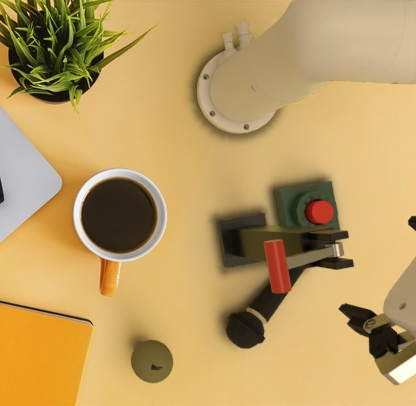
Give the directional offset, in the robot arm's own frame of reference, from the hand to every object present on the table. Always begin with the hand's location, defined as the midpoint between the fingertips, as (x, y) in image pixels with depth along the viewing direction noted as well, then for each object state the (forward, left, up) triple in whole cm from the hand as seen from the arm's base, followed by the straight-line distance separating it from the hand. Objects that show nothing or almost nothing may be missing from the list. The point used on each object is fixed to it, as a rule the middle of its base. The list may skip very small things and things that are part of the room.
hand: (386, 273), depth 47 cm
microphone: (+8, +5, -35) cm, 36 cm away
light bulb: (+12, -16, -35) cm, 40 cm away
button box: (-4, +12, -35) cm, 37 cm away
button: (-4, +12, -31) cm, 33 cm away
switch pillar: (-1, +2, -35) cm, 35 cm away
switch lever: (-1, -3, -10) cm, 10 cm away
